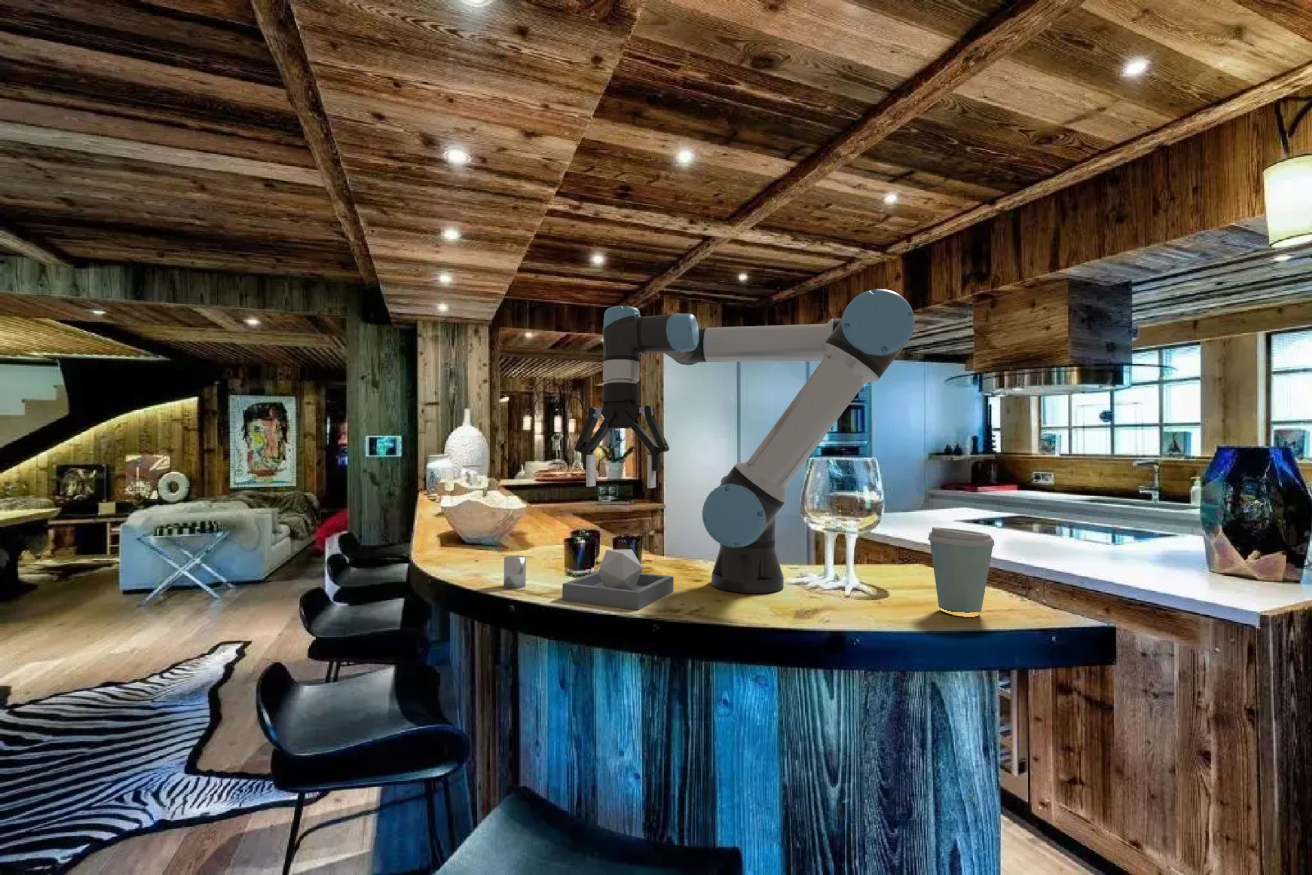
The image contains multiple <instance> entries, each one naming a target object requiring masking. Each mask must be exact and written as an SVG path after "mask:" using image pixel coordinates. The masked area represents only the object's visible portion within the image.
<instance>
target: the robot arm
mask: <svg viewBox="0 0 1312 875" xmlns="http://www.w3.org/2000/svg"><path fill="white" fill-rule="evenodd" d="M603 315H604V316H603V328H602V339H603V340H602V341H603V342H602V345H603V346H602V347H603V348H602V350H603V353H602V354H603V359H602V360H603V361H602V362H603V363H602V381H603V382H605V383H604V384H603V385H602V408H598V407H593V406H591V407H588V414H587V419H586V421H585V424H584V426H583V427H582V429H581V433H580V434H579V437H578V439H577V440H576V444H575V445H574V448H573V449H574V452H577V453H580V454H581V455H582V469H583V471H585V472H586V473H585V474H586V475H585V476H586V477H585V478H586V481H585V482H586V483H585V484H586V485H585V486H586V487H587V488H588V487H589V488H590V487H596V478H597V477H596V476H597V475H596V473H597V472H596V469H597V468H596V465H597V461H596V460H597V458H596V457H597V455H596V454H594V451H596V449H597V448H598V446H599V445H600V444H601V442H602V441H603V440H604V438H605V437H606V436H607V435H608V433H609V432H610V431H612V430H614V429H615V430H619V429H620V430H621V429H625V430H628V429H631V430H632V431H633V432H634V433H635V435H636V436H637V437H638V438H639V440H640V441H641V442H642V443H643V445H644V446H645V447H646V448H647V449H648V451H649V452H650V454H647V456H646V457H647V458H646V459H647V463H646V464H647V468H646V470H647V471H646V473H647V475H646V477H647V483H646V485H647V486H646V488H647V489H654V488H657V472H660V470H661V455H662V454H663V453H667V452H669V451H670V446H669V444H668V442H667V440H666V438H665V436H664V433H663V431H662V429H661V427H660V425H659V423H658V421H657V418H656V414H655V413H656V412H655V408H654V406H652V405H644V406H642V407H640V385H639V384H638V382H640V363H641V362H640V360H641V359H640V355H641V354H643V355H645V354H646V355H647V354H665V355H666V356H668V357H669V358H671V359H672V360H674V361H675V362H676V363H678V364H680V365H685V366H692V365H696V364H698V363H735V362H736V363H742V362H743V363H745V362H748V363H749V362H755V363H756V362H759V363H760V362H762V363H763V362H766V363H767V362H820V363H819V364H818V366H817V367H816V368H815V370H814V371H813V373H812V374H811V375H810V377H808V379H807V380H806V382H805V383H804V385H803V386H802V387H801V388H800V390H799V391H798V393H797V394H796V395H795V397H794V398H793V399H792V401H791V402H790V403H789V405H788V406H787V408H786V409H785V410H784V411H783V413H782V414H781V415H780V417H779V419H778V420H777V421H776V423H775V424H774V425H773V426H772V428H771V429H770V430H769V432H768V433H767V435H766V436H765V437H764V439H763V440H762V441H761V442H760V444H759V445H758V447H757V448H756V450H755V451H754V452H753V453H752V455H751V456H750V458H749V459H748V460H747V461H746V462H739V463H735V464H734V466H733V467H732V468H731V469H730V471H729V473H728V474H726V475H725V476H723V477H722V478H721V480H720V485H718V486H717V487H715V488H713V490H712V491H710V493H709V494H708V495H707V497H706V499H705V500H704V502H703V506H702V511H701V512H702V513H701V516H702V523H703V526H704V528H705V530H706V531H707V533H708V535H709V536H710V537H711V538H712V539H713V540H714V541H716V542H717V543H718V544H719V550H718V553H717V557H716V559H715V562H714V565H713V569H712V572H711V585H712V587H714V588H716V589H719V590H723V591H726V592H727V591H728V592H732V593H743V594H766V593H767V594H768V593H775V592H778V591H781V590H782V589H784V587H785V586H784V585H785V584H784V579H785V578H784V574H783V571H782V568H781V565H780V562H779V558H778V555H777V551H776V515H777V514H778V512H779V511H780V510H781V508H782V507H783V505H784V504H785V503H786V502H787V497H786V488H787V487H788V485H789V484H790V483H791V482H792V480H793V479H794V477H795V476H796V475H797V474H798V472H799V471H800V470H801V468H802V467H803V466H804V465H805V463H806V462H807V460H808V459H809V458H810V456H811V455H812V454H813V452H814V451H815V450H816V448H817V447H818V446H819V445H820V443H821V442H822V441H823V439H824V437H825V436H826V435H827V434H828V433H829V432H830V430H831V429H832V428H833V425H835V424H836V423H837V421H838V420H839V419H840V417H841V416H842V415H843V414H844V413H843V412H845V410H846V409H847V407H848V406H849V405H850V404H851V402H852V401H853V400H854V399H855V398H856V396H857V394H858V393H859V391H861V389H862V388H863V387H864V385H866V384H868V383H874V382H875V383H876V382H878V381H879V379H880V378H881V377H882V376H883V374H884V373H885V372H886V370H888V368H889V366H890V365H891V364H892V363H893V361H894V360H895V359H897V357H899V355H900V354H901V353H902V352H903V350H904V348H905V346H906V345H907V344H908V342H910V340H911V338H912V336H913V334H914V330H915V316H914V311H913V309H912V306H911V305H910V303H909V302H908V300H907V299H905V298H904V297H903V296H902V295H901V294H899V293H897V292H895V291H892V290H889V289H885V288H884V289H881V288H880V289H879V288H877V289H871V290H867V291H865V292H861V293H860V294H859V295H857V296H856V297H854V298H853V299H852V300H851V301H850V302H849V304H848V305H847V306H845V308H844V311H843V314H842V318H831V319H830V320H829V321H828V322H826V323H817V324H816V323H814V324H812V323H811V324H784V325H783V324H782V325H756V326H755V325H754V326H745V325H744V326H720V327H719V326H718V327H699V325H698V322H697V318H696V316H695V315H694V314H692V313H680V312H675V313H673V314H661V315H660V314H659V315H648V316H642V315H641V312H640V310H639V309H638V308H637V307H634V306H628V305H626V306H625V305H614V306H610V307H608V308H607V309H606V310H605V311H604V314H603ZM641 414H642V417H644V418H645V420H646V423H647V425H648V428H649V430H650V431H651V434H652V436H653V438H654V440H655V441H654V440H653V439H652V438H651V436H650V435H649V434H648V432H647V431H646V430H645V429H644V427H643V425H642V424H641V422H640V421H639V420H638V419H639V417H640V415H641ZM601 416H602V417H603V421H602V422H601V423H600V425H599V427H598V429H597V430H596V431H595V433H594V434H593V432H594V430H595V428H596V425H597V423H598V420H599V419H600V418H601ZM592 434H593V435H592Z"/></svg>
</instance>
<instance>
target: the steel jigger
mask: <svg viewBox="0 0 1312 875" xmlns="http://www.w3.org/2000/svg"><path fill="white" fill-rule="evenodd" d="M526 573H527V556H525V555H519V554H518V555H507V556H504V557H503V588H504V589H507V590H517V589H519V590H520V589H524V588H526V583H527V582H526V576H527V574H526Z"/></svg>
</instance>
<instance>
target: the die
mask: <svg viewBox="0 0 1312 875" xmlns="http://www.w3.org/2000/svg"><path fill="white" fill-rule="evenodd" d="M642 570H643V565H642V564H641V562H640V560H639V559H638V557H637V555H636V554H635V553H634V551H633V549H626V548H625V549H606V550H605V553H604V555H603V559H602V561H601V564H600V566H599V569H598V570H597V572H598V575H599V577H600V579H601V581H602V583H603V585H604V587H608V588H616V589H625V590H633V591H634V589H635V586H636V584H637V581H638V579H639V576H640V573H642Z"/></svg>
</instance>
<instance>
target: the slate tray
mask: <svg viewBox="0 0 1312 875" xmlns="http://www.w3.org/2000/svg"><path fill="white" fill-rule="evenodd" d="M561 585H562V588H561V589H562V593H561V596H562V597H561V598H562V601H569V602H577V603H582V604H583V603H584V604H591V605H598V606H605V607H613V608H614V607H615V608H619V609H620V608H621V609H627V610H628V609H629V610H637V611H639V610H642V609H644V608H645V607H647V606H649V605H650V604H652V603H653V604H654V602H656V601H658V600H660V599H662V598H664V597H665V596H667V595H669V594H671V593H673V592H674V576H673V575H662V574H654V573H646V572H645V573H644V572H641V573H640V576H639V579H638V581H637V584H636V586H635V589H634V591H633V590H625V589H616V588H608V587H604V585H603V583H602V581H601V579H600V577H599V575H598V571H596V572H593V573H589V574H586V575H584V576H581V577H577V578H575V579H572V580H570V581H567V582H564V583H562V584H561Z"/></svg>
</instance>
